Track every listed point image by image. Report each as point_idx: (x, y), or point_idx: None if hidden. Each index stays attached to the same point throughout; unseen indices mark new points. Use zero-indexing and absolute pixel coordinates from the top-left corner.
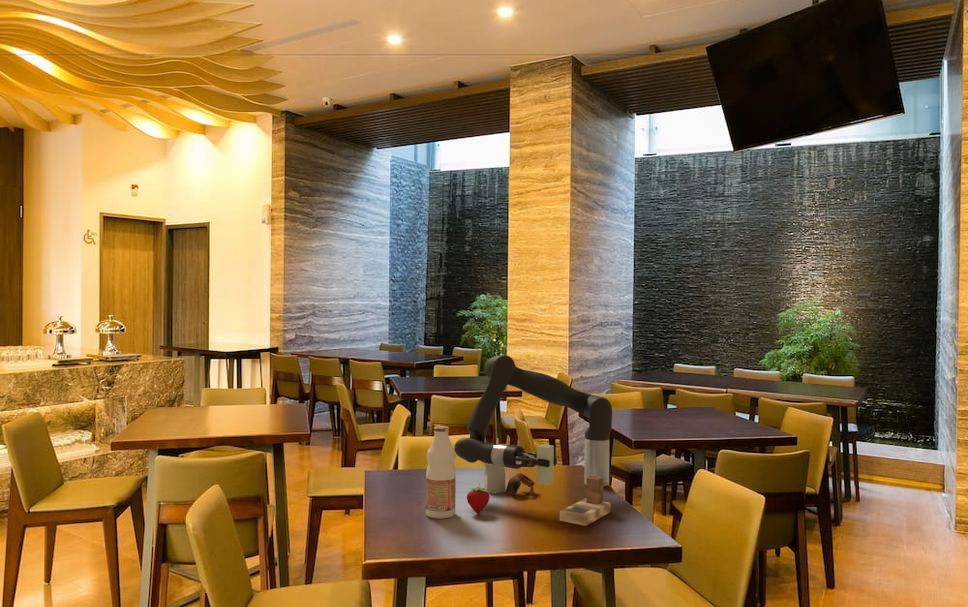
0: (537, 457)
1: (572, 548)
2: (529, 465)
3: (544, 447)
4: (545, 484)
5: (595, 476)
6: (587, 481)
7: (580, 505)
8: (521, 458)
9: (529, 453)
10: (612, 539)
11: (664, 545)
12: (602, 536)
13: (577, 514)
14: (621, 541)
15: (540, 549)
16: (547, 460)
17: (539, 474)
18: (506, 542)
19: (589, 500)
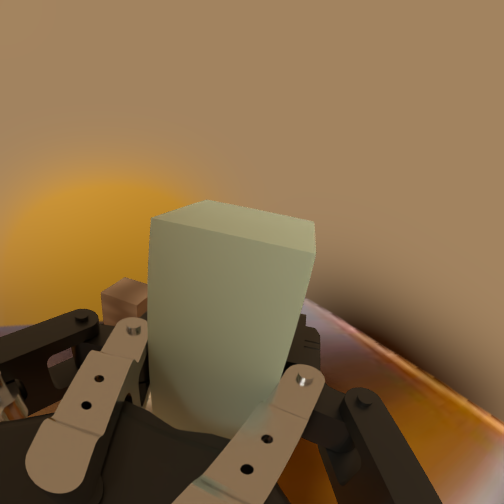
0: (281, 370)
1: (418, 381)
2: (356, 456)
3: (314, 229)
4: None
5: (113, 287)
6: (139, 314)
7: None
8: (409, 502)
9: (96, 462)
10: (331, 346)
11: (308, 301)
12: (327, 359)
13: None
14: (331, 337)
15: (462, 412)
16: (304, 317)
17: None
18: (488, 468)
19: None
